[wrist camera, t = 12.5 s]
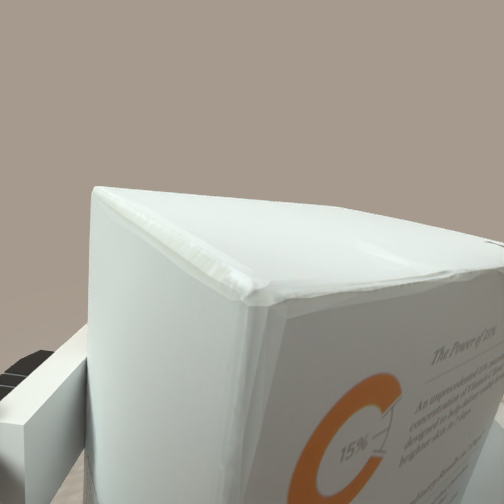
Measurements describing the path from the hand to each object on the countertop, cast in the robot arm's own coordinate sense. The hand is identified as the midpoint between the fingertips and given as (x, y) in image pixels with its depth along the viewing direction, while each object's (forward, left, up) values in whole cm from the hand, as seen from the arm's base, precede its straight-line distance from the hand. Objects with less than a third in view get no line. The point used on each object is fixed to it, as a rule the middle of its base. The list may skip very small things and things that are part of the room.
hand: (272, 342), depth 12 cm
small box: (0, +4, -8) cm, 9 cm away
